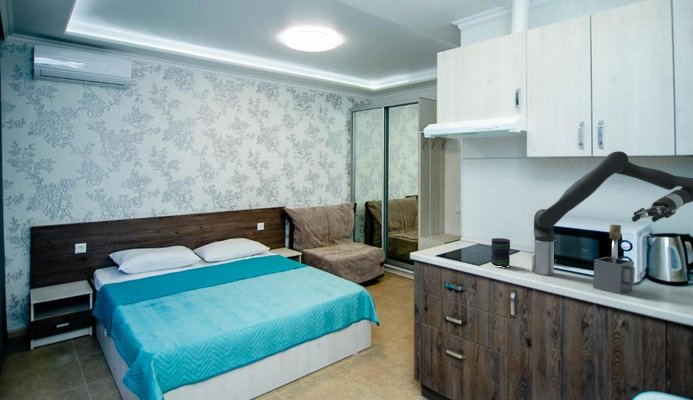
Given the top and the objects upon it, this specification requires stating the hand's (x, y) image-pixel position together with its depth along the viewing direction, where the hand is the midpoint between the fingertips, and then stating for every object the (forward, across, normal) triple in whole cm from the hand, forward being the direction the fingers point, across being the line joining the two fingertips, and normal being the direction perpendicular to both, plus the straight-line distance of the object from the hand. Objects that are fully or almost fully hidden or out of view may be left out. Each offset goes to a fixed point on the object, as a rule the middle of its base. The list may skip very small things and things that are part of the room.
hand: (642, 219), depth 169 cm
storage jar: (+34, -62, +14) cm, 72 cm away
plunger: (+14, -10, +20) cm, 27 cm away
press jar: (+17, -10, +27) cm, 33 cm away
